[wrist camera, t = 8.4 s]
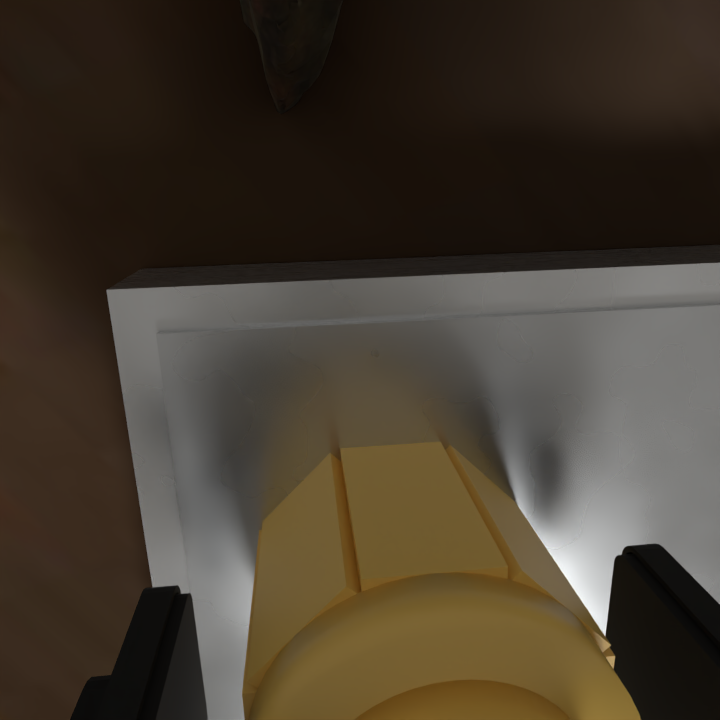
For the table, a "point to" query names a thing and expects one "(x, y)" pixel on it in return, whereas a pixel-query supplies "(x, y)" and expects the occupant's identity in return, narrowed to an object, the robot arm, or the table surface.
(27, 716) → the table surface
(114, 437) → the table surface
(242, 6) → the dark brown wood branch
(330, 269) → the plate
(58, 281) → the table surface
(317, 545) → the wire nut
